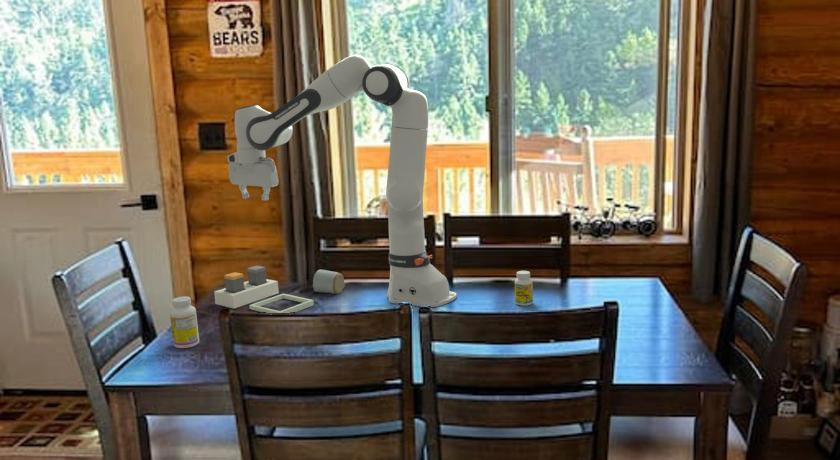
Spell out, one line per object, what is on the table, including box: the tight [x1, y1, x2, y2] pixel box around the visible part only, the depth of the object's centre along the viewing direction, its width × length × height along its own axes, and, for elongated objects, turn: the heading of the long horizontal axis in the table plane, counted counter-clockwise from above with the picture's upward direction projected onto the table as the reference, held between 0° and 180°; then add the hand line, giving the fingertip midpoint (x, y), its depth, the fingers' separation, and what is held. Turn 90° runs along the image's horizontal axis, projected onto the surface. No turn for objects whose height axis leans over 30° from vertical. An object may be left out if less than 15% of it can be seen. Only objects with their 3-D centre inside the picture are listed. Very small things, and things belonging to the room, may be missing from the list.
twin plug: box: [247, 265, 267, 286], centre depth 232 cm, size 4×4×9 cm
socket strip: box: [213, 278, 280, 309], centre depth 229 cm, size 9×18×5 cm, turn 143°
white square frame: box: [248, 293, 315, 314], centre depth 220 cm, size 14×14×2 cm
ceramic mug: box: [312, 269, 346, 295], centre depth 236 cm, size 11×8×8 cm
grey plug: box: [223, 271, 245, 293], centre depth 225 cm, size 4×4×9 cm
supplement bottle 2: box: [514, 270, 534, 307], centre depth 216 cm, size 5×5×10 cm
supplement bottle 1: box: [169, 296, 200, 349], centre depth 193 cm, size 7×7×13 cm
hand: (255, 199), depth 235 cm, fingers open, 8 cm apart
